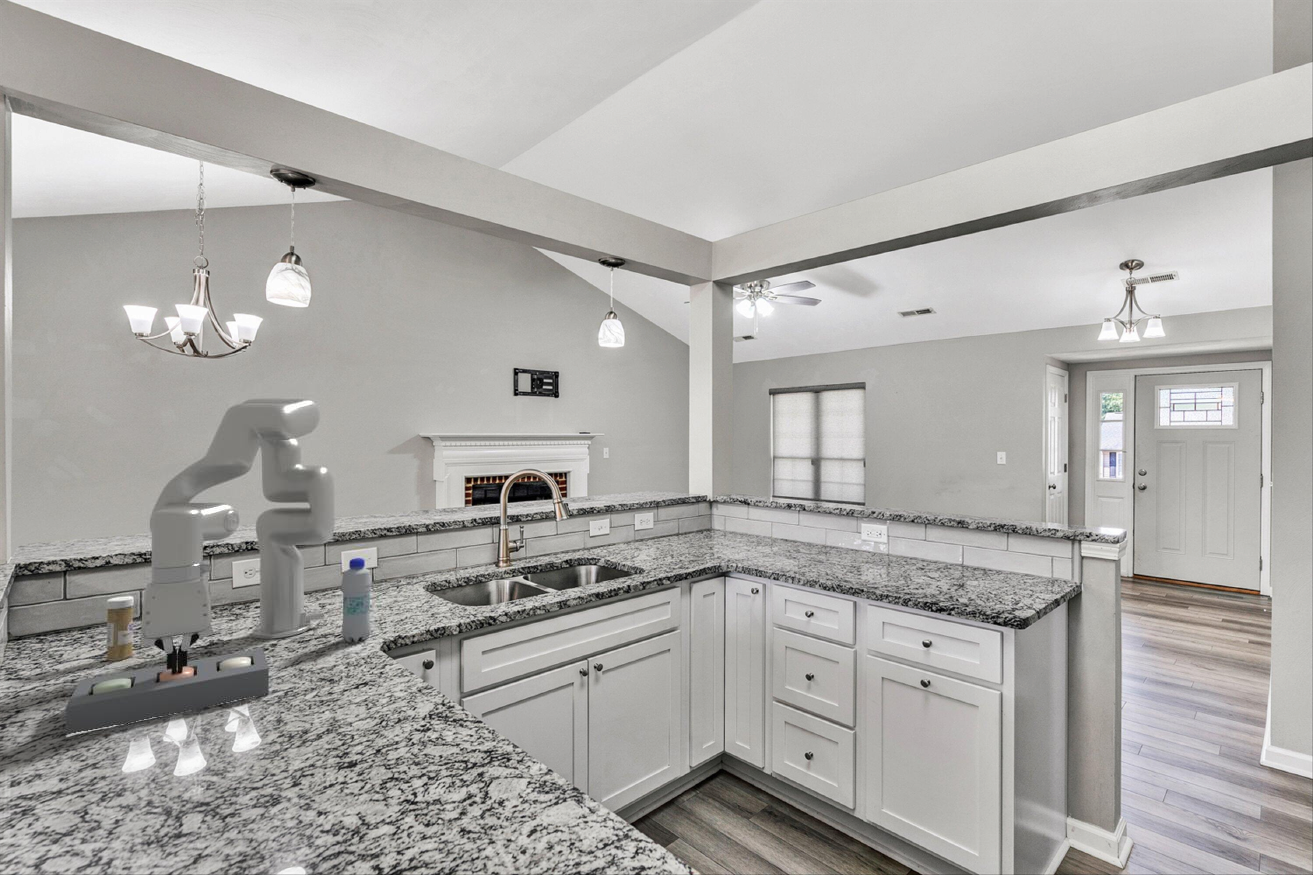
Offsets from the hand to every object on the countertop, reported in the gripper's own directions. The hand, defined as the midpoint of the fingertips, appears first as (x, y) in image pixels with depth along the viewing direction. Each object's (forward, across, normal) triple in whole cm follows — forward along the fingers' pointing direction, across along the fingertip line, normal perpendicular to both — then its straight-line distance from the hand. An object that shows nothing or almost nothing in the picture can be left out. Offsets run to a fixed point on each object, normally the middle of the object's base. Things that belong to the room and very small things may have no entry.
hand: (177, 671), depth 112 cm
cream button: (+4, -9, 0) cm, 10 cm away
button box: (+6, 0, 0) cm, 6 cm away
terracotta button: (+4, 0, 0) cm, 4 cm away
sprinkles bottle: (+6, +11, -36) cm, 38 cm away
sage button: (+4, +9, 0) cm, 10 cm away
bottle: (+6, -34, -18) cm, 39 cm away
